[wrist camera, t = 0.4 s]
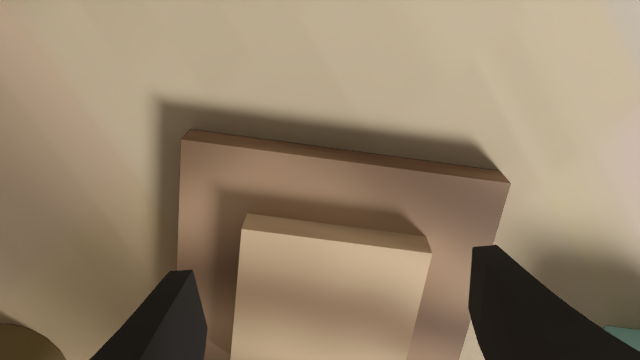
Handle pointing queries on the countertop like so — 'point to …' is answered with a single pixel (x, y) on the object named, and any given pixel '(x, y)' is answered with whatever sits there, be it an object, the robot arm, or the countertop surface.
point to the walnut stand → (330, 249)
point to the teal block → (626, 335)
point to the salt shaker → (26, 345)
